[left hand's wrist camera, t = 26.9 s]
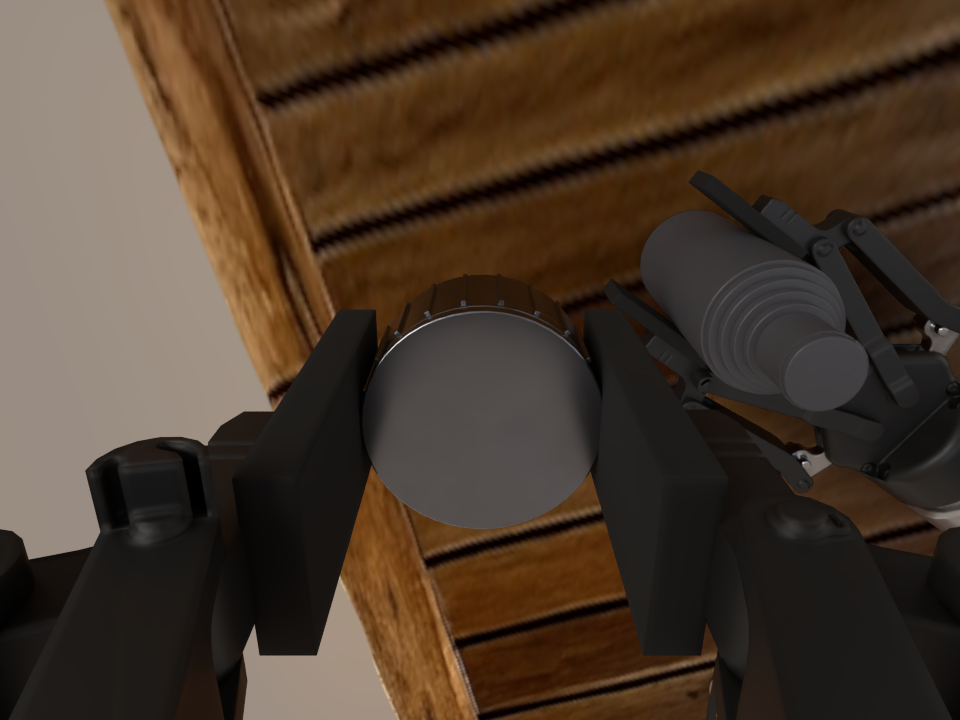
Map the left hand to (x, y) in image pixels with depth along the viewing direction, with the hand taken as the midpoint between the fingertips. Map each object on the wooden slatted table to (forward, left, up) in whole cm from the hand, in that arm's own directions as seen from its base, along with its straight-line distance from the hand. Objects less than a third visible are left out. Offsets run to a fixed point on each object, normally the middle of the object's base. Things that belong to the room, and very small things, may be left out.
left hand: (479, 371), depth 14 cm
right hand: (-8, +5, -22) cm, 24 cm away
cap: (0, 0, +2) cm, 2 cm away
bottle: (-11, +9, -29) cm, 32 cm away
